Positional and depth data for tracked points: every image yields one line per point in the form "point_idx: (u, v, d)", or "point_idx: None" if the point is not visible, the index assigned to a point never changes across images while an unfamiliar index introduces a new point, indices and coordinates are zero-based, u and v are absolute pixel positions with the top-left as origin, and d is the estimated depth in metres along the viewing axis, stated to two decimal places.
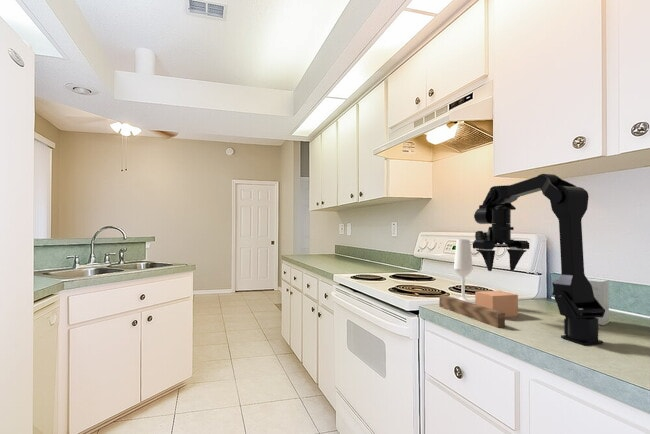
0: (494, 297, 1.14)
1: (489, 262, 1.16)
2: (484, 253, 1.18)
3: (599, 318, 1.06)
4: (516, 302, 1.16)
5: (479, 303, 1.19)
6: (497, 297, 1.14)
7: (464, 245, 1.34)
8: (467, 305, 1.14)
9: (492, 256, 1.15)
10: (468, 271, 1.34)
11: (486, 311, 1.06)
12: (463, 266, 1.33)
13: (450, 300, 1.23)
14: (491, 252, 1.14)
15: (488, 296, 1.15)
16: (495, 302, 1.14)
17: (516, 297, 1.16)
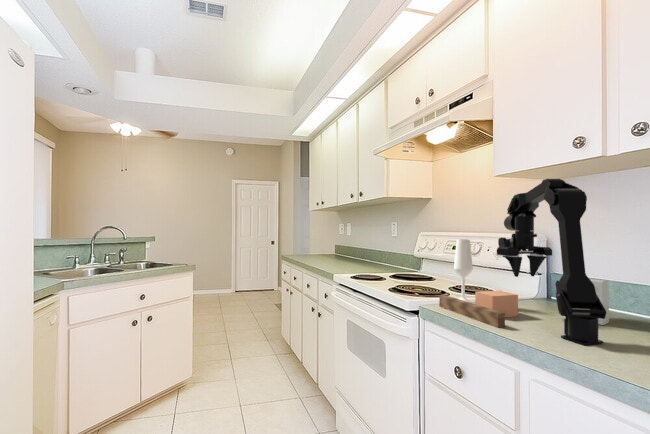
0: (494, 297, 1.14)
1: (516, 268, 1.20)
2: (511, 259, 1.22)
3: (599, 318, 1.06)
4: (516, 302, 1.16)
5: (479, 303, 1.19)
6: (497, 297, 1.14)
7: (464, 245, 1.34)
8: (467, 305, 1.14)
9: (519, 262, 1.19)
10: (468, 271, 1.34)
11: (486, 311, 1.06)
12: (463, 266, 1.33)
13: (450, 300, 1.23)
14: (518, 258, 1.18)
15: (488, 296, 1.15)
16: (495, 302, 1.14)
17: (516, 297, 1.16)
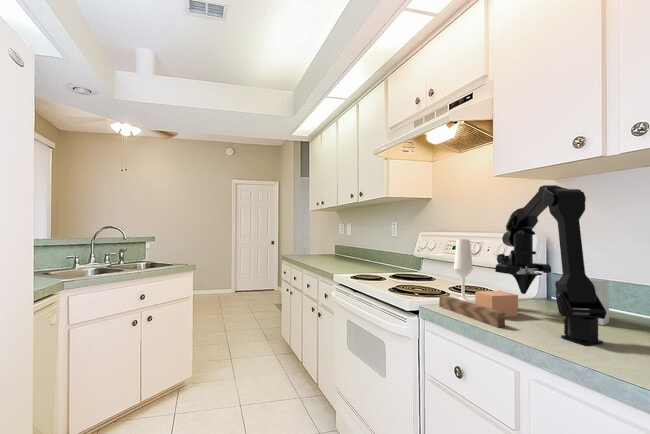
0: (493, 297, 1.14)
1: (522, 285, 1.21)
2: (517, 276, 1.22)
3: (599, 318, 1.06)
4: (516, 302, 1.16)
5: (479, 303, 1.19)
6: (496, 297, 1.14)
7: (464, 245, 1.34)
8: (467, 305, 1.14)
9: (525, 280, 1.19)
10: (468, 271, 1.34)
11: (486, 311, 1.06)
12: (463, 266, 1.33)
13: (450, 300, 1.23)
14: (525, 276, 1.19)
15: (488, 296, 1.15)
16: (495, 302, 1.14)
17: (516, 297, 1.16)
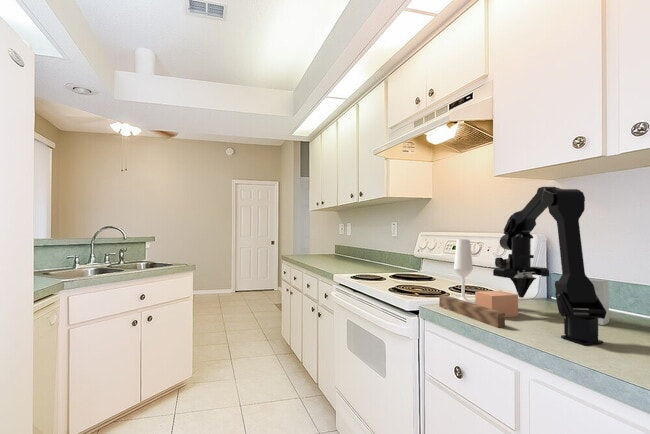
0: (493, 297, 1.14)
1: (520, 289, 1.21)
2: (515, 280, 1.22)
3: (599, 318, 1.06)
4: (516, 302, 1.16)
5: (479, 303, 1.19)
6: (496, 297, 1.14)
7: (464, 245, 1.34)
8: (467, 305, 1.14)
9: (523, 283, 1.19)
10: (468, 271, 1.34)
11: (486, 311, 1.06)
12: (463, 266, 1.33)
13: (450, 300, 1.23)
14: (522, 280, 1.19)
15: (487, 296, 1.16)
16: (495, 302, 1.14)
17: (516, 297, 1.16)
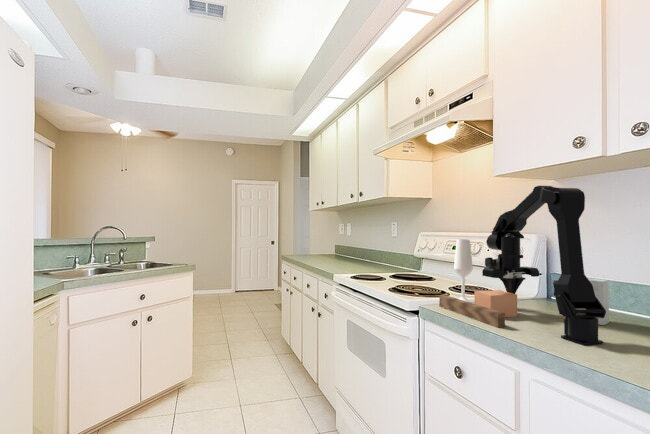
0: (492, 296, 1.14)
1: (510, 289, 1.19)
2: (505, 280, 1.21)
3: (599, 318, 1.06)
4: (515, 302, 1.16)
5: (478, 302, 1.19)
6: (495, 297, 1.14)
7: (464, 245, 1.34)
8: (467, 305, 1.14)
9: (513, 284, 1.18)
10: (468, 271, 1.34)
11: (486, 311, 1.06)
12: (463, 266, 1.33)
13: (450, 300, 1.23)
14: (512, 280, 1.17)
15: (486, 295, 1.16)
16: (493, 302, 1.14)
17: (515, 297, 1.16)
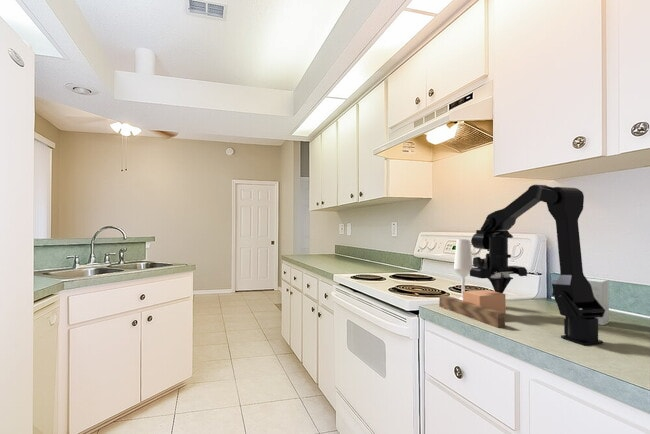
0: (481, 297, 1.13)
1: (498, 289, 1.18)
2: (493, 280, 1.20)
3: (599, 318, 1.06)
4: (503, 301, 1.15)
5: None
6: (484, 297, 1.13)
7: (464, 245, 1.34)
8: (467, 305, 1.14)
9: (501, 284, 1.17)
10: (468, 271, 1.34)
11: (486, 311, 1.06)
12: (463, 266, 1.33)
13: (450, 300, 1.23)
14: (500, 280, 1.16)
15: (475, 296, 1.14)
16: (482, 302, 1.13)
17: (503, 296, 1.15)
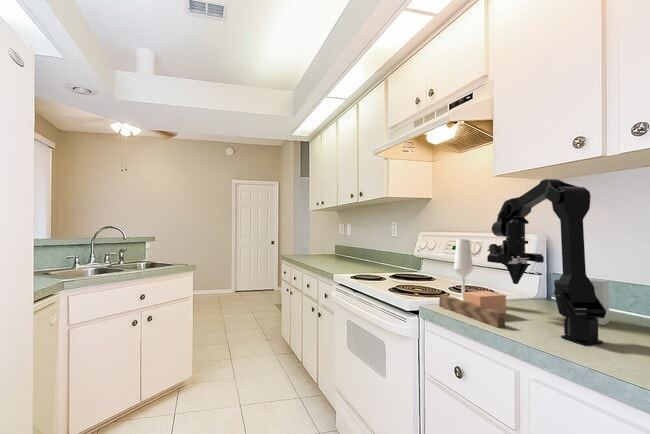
0: (481, 298, 1.13)
1: (515, 275, 1.19)
2: (509, 266, 1.20)
3: (599, 318, 1.06)
4: (504, 303, 1.15)
5: None
6: (484, 298, 1.13)
7: (464, 245, 1.34)
8: (467, 305, 1.14)
9: (518, 269, 1.17)
10: (468, 271, 1.34)
11: (486, 311, 1.06)
12: (463, 266, 1.33)
13: (450, 300, 1.23)
14: (517, 266, 1.17)
15: (475, 297, 1.14)
16: (483, 303, 1.13)
17: (504, 297, 1.15)
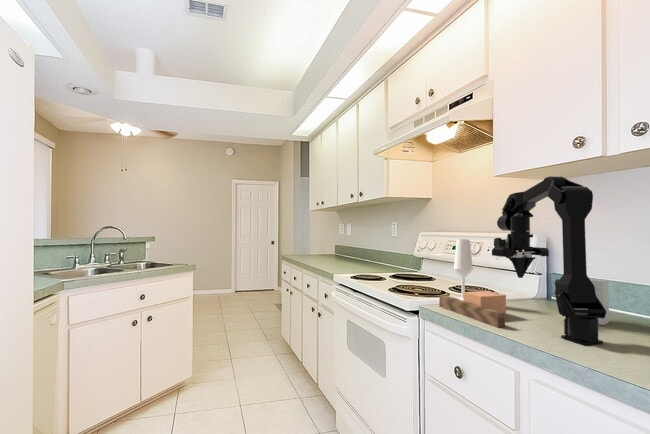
0: (482, 298, 1.12)
1: (519, 269, 1.18)
2: (514, 260, 1.20)
3: (599, 318, 1.06)
4: (504, 303, 1.15)
5: None
6: (485, 298, 1.13)
7: (464, 245, 1.34)
8: (467, 305, 1.14)
9: (522, 263, 1.17)
10: (468, 271, 1.34)
11: (486, 311, 1.06)
12: (463, 266, 1.33)
13: (450, 300, 1.23)
14: (522, 259, 1.16)
15: (476, 297, 1.14)
16: (483, 303, 1.13)
17: (504, 298, 1.15)
